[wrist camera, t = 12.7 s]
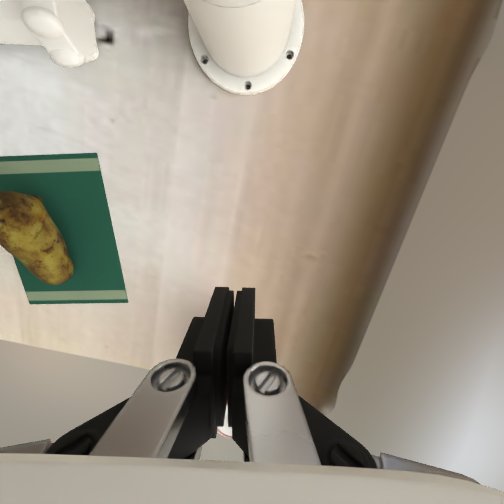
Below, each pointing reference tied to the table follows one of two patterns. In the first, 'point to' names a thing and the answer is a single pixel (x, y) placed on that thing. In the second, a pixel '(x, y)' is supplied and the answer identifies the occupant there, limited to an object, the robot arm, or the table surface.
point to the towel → (70, 225)
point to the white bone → (51, 28)
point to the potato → (34, 237)
